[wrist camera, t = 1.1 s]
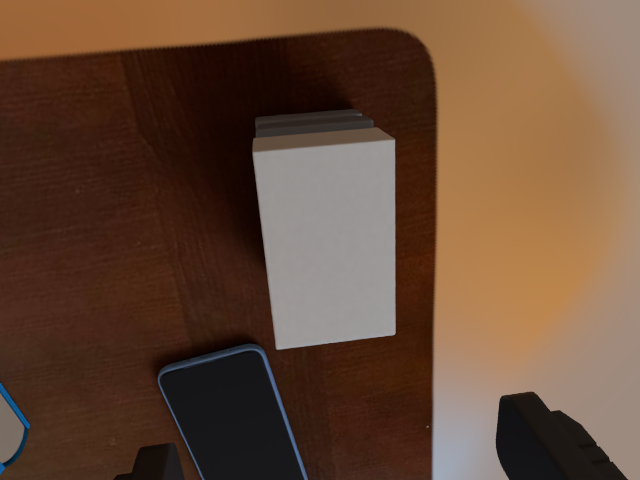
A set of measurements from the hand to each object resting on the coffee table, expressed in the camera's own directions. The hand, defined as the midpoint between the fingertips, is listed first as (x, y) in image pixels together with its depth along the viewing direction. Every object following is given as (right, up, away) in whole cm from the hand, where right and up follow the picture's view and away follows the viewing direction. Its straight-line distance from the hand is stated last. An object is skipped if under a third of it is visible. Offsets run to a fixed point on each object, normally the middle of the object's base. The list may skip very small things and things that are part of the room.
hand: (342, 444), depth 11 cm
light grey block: (0, +6, +12) cm, 13 cm away
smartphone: (-6, -9, +23) cm, 25 cm away
